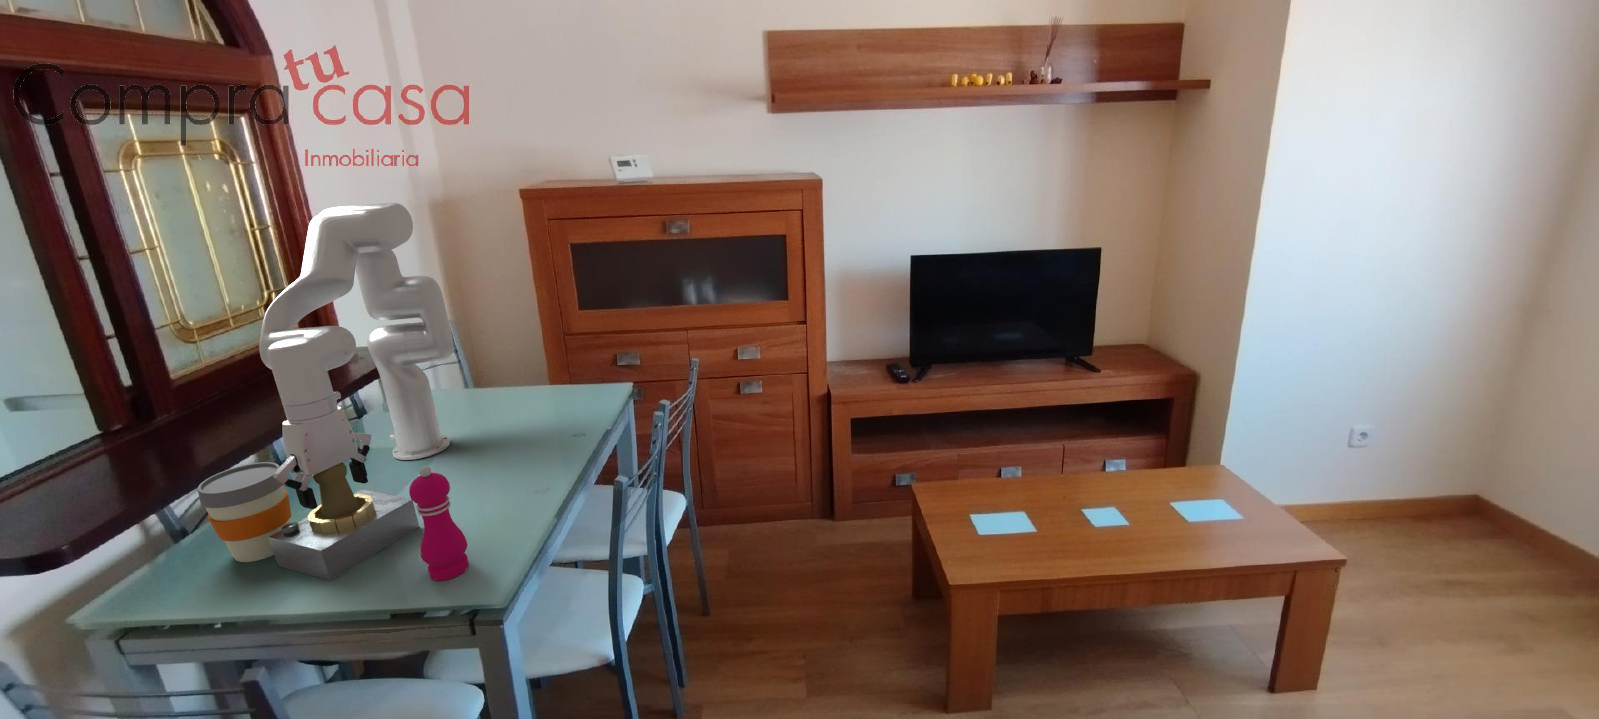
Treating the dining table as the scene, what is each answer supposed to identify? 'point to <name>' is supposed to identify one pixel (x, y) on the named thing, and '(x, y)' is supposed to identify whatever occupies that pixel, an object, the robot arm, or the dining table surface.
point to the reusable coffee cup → (246, 508)
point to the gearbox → (343, 535)
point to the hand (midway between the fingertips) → (336, 494)
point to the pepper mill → (438, 527)
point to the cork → (335, 492)
